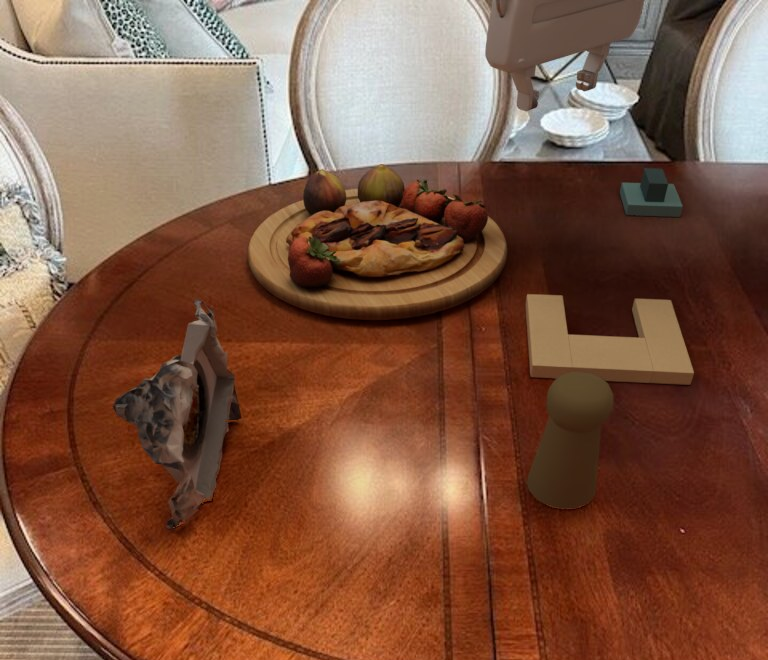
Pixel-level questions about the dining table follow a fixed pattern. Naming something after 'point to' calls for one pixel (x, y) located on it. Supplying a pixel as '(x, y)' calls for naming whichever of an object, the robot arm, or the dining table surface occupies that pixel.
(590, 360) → the base pad
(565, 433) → the olive game pawn
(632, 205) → the teal pad
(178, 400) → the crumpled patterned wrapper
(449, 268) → the wooden plate
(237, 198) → the dining table surface
